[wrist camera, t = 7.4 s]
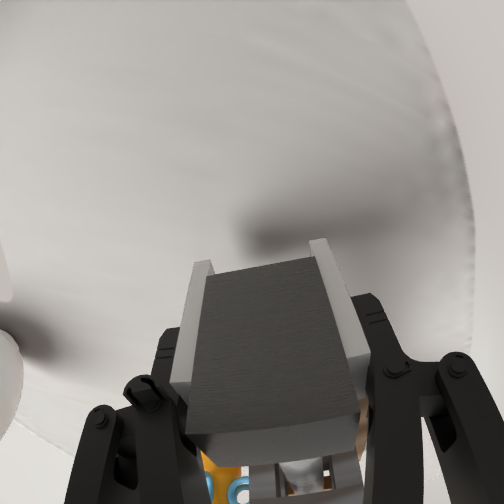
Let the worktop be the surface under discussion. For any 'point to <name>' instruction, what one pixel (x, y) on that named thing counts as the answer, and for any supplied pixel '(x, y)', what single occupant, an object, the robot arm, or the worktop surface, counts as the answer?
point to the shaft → (271, 374)
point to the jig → (339, 465)
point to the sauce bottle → (9, 380)
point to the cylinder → (223, 482)
